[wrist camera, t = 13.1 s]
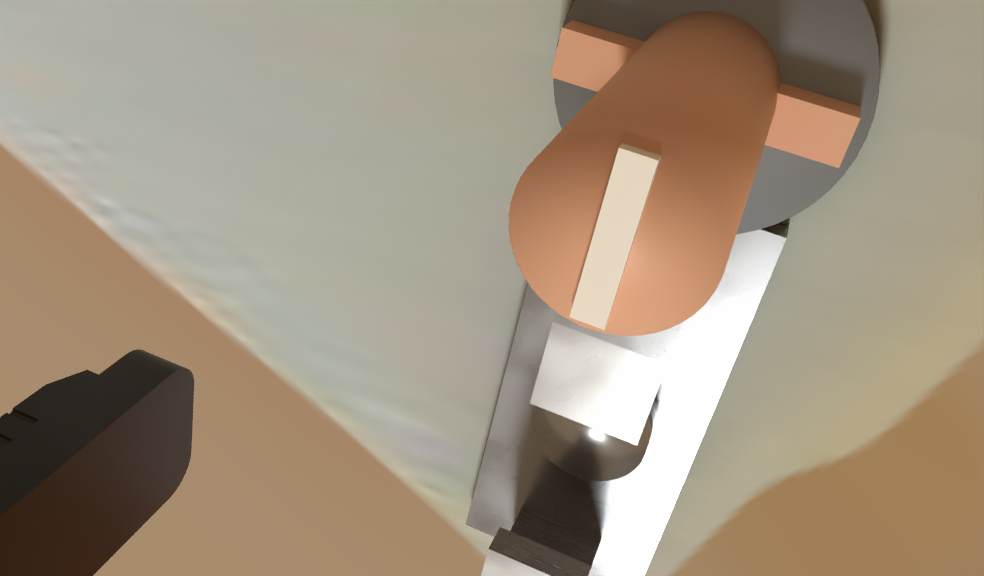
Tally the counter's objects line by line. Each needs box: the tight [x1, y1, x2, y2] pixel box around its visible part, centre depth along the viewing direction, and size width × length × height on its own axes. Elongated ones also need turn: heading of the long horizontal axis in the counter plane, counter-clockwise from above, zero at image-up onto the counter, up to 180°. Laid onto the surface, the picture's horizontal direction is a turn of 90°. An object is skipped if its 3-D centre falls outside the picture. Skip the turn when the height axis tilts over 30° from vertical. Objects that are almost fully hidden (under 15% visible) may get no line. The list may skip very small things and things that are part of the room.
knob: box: [509, 11, 861, 336], centre depth 24 cm, size 5×9×12 cm, turn 77°
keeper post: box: [466, 223, 789, 576], centre depth 34 cm, size 8×18×7 cm, turn 167°
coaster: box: [553, 0, 880, 234], centre depth 29 cm, size 10×10×1 cm
